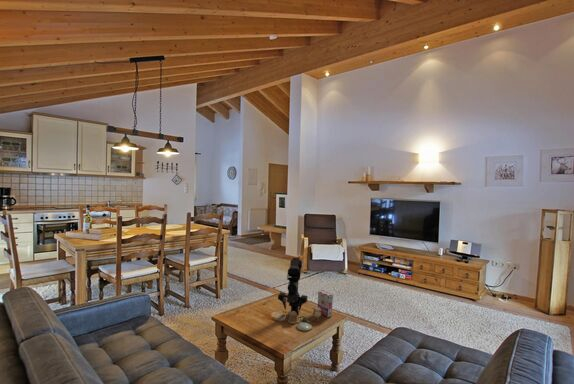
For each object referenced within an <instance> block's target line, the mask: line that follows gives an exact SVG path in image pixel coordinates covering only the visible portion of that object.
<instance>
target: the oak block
mask: <svg viewBox="0 0 574 384" xmlns="http://www.w3.org/2000/svg"><path fill="white" fill-rule="evenodd" d="M313 313H314V314H315V315H321V309H320V307H318V306H314V307H313ZM313 313H312V314H313ZM321 316H322V315H321Z"/></svg>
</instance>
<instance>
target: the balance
mask: <svg viewBox="0 0 574 384" xmlns="http://www.w3.org/2000/svg"><path fill="white" fill-rule="evenodd" d="M313 316H314V317H315V321H319V319H318V318H319V317H321V316H322V315H315V314H314V313H309V314H306V315H303V316H299V317H297V321H298V320H300V323H308V324H310V321H309V320H308V317H313ZM287 320H288V319H287ZM297 321H296V322H290V321H289V320H288V324H290V325H297Z"/></svg>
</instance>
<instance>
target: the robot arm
mask: <svg viewBox="0 0 574 384" xmlns="http://www.w3.org/2000/svg"><path fill="white" fill-rule="evenodd" d="M289 265H290V266H289V268H288V269H287V274H286V275H287V277H286V280H287V281H288V285H287V291H288V292H287V294H286V292H280V293H278V296H277V300H278V301H280V302H282V305H283V309H284V310H285V311H286V310H287V303H288V306H289V307H290V311H289V312H291V311H295V312H296V313H297V316H299V315H300V311H301V308H302V306H303V305H304V304H306V303H307V302H308V299H309V298H308V295H305V294H301V295H300V293H299V281H300V280H301V273H302V272H301V271H302V268H303V260H301V259H300V258H299V257H292V259H291V260H290V264H289Z"/></svg>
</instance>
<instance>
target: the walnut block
mask: <svg viewBox="0 0 574 384" xmlns="http://www.w3.org/2000/svg"><path fill="white" fill-rule="evenodd" d="M290 311H291V310H290ZM290 311H288V312H287V315H288V316H287V320H289V321H290V322H296V323H297V322H298V315H297V313H296V312H295V311H291V312H290Z"/></svg>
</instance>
